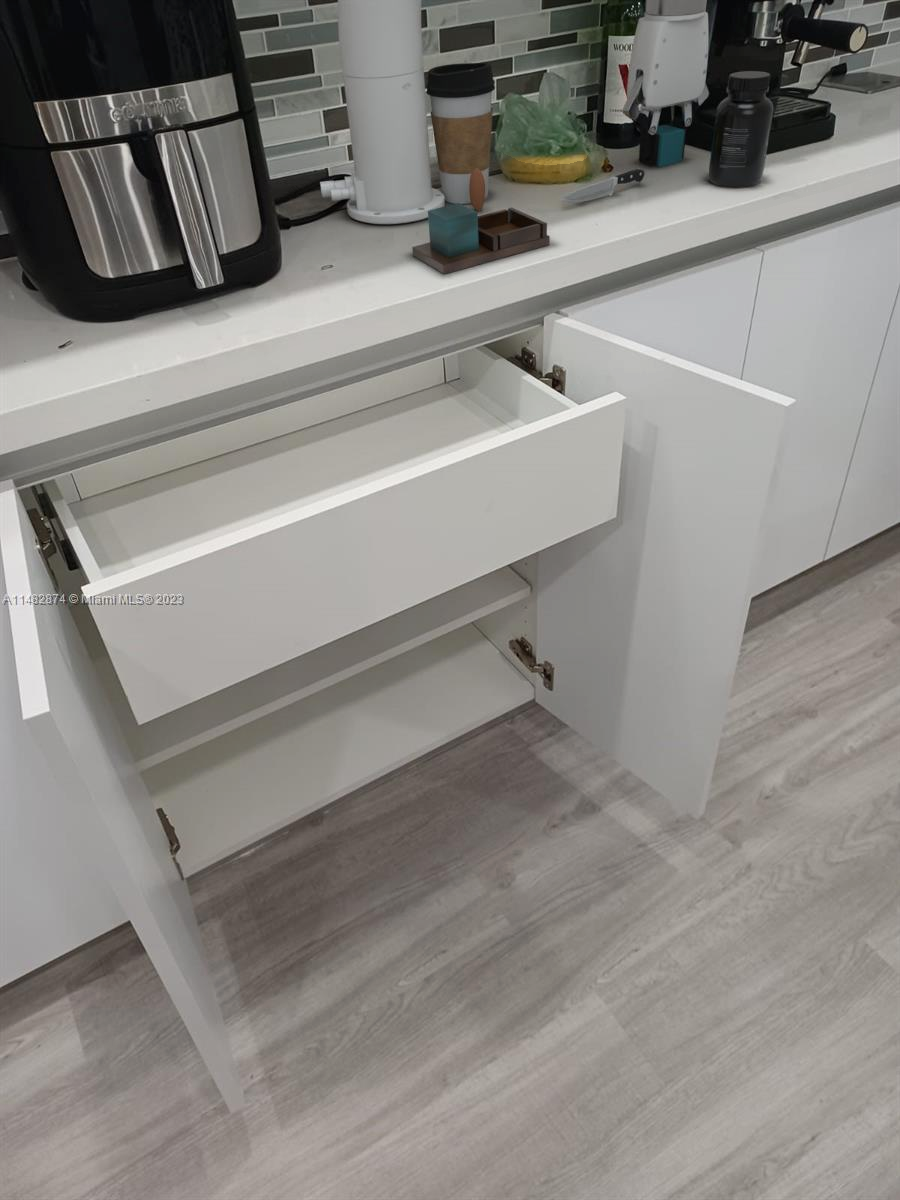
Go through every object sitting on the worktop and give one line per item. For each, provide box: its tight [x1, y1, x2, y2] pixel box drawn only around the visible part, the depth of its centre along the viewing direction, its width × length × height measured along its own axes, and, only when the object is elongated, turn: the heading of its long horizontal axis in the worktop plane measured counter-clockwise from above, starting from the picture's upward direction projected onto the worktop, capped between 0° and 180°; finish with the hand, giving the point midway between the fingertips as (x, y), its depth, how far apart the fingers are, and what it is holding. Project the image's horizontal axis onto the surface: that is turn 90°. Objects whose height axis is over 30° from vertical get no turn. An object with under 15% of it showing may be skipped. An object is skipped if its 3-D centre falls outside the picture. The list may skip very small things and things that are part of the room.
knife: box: [559, 168, 645, 203], centre depth 110 cm, size 15×1×2 cm, turn 128°
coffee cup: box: [425, 62, 496, 205], centre depth 109 cm, size 8×8×15 cm
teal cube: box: [654, 124, 685, 168], centre depth 120 cm, size 4×4×4 cm
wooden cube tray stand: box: [411, 203, 551, 275], centre depth 98 cm, size 14×7×5 cm, turn 120°
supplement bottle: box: [707, 70, 774, 188], centre depth 109 cm, size 7×7×12 cm
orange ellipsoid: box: [469, 168, 486, 212], centre depth 108 cm, size 2×2×5 cm
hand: (661, 159), depth 121 cm, fingers closed on teal cube, 4 cm apart
